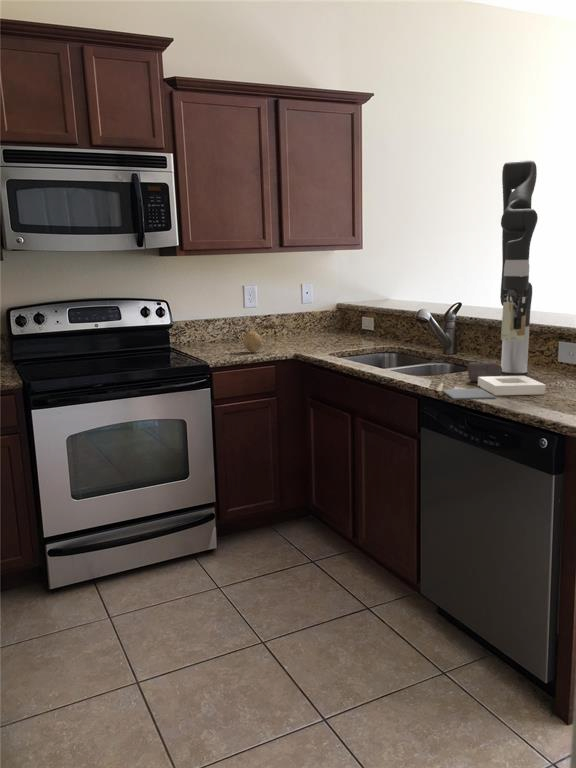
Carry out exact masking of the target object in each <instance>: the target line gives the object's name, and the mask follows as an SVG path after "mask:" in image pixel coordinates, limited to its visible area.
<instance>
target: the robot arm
mask: <svg viewBox="0 0 576 768" xmlns="http://www.w3.org/2000/svg"><path fill="white" fill-rule="evenodd" d="M537 172H538V171H537V164H536V162H535V161H534V160H528V159H527V160H515V161H507V162H505V163H504V164H503V166H502V172H501V173H502V176H501V177H502V178H501V181H502V182H501V183H502V184H501V185H502V202H503V203H502V206H503V208H502V210H503V211H502V215H501V219H500V226H501V229H502V232H501V233H502V235H501V239H502V241H501V246H502V247H501V250H502V251H501V252H502V254H501V255H502V264H501V265H502V267H501V268H502V269H501V270H502V271H501V282H500V295H499V297H500V304H501V306H502V307H503V302H511V303H515V304H516V306H517V307H515V305H513V310H514V329H521V322H522V317H523V316H525V315H526V323H525V337H524V340H522V341H505V340H501V341H502V342H501V359H500V360H501V361H500V362H501V365H500V366H501V367H502V373H508V374H525V373H527V371H528V362H529V361H528V359H529V357H528V356H529V341H530V327H531V326H530V322H531V310H532V308H531V307H532V299H533V285H532V283H531V282H530V281H529V280H530V278H529V277H530V248H531V244H532V243H531V242H532V237H533V235H534V232H535V229H536V226H537V224H538V213H537V212H536V210H535V209H534V208H532V200H533V199H532V198H533V195H534V190H535V187H536V182H537V177H538V176H537V175H538V174H537Z"/></svg>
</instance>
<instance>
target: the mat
mask: <svg viewBox="0 0 576 768" xmlns="http://www.w3.org/2000/svg"><path fill="white" fill-rule="evenodd" d="M441 392H442V393H444V394H445V395H447V396H448V397H449V398H451V399H452V400H455V401H456V400H459V401H460V400H490V399H492V400H493V399H494V400H495V399H496V395H493V394H492V393H490V392H488V391H486V390H485V389H483V388H454V389H453V388H450V389H449V388H447V389H444V388H443V389H441Z"/></svg>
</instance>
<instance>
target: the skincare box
mask: <svg viewBox="0 0 576 768" xmlns="http://www.w3.org/2000/svg"><path fill="white" fill-rule="evenodd" d="M513 305H515V307H517V306H516V304H515V303H511V302H503V306H502V317H501V318H502V319H501V332H500V333H501V334H500V340H501V341H503V340H505V341H522V340H524V337H525V323H526V315H525V316H523V317H522V322H521V329H514V310H513Z"/></svg>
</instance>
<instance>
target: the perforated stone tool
mask: <svg viewBox="0 0 576 768" xmlns="http://www.w3.org/2000/svg"><path fill="white" fill-rule="evenodd" d="M467 374H468V380H469V381H470V382H478V377H488V376H502V374H503V372H502V367H501V365H500V364H499V363H496V362H491V361H479V362H477V361H475V362H474V361H473V362H468V363H467Z"/></svg>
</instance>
